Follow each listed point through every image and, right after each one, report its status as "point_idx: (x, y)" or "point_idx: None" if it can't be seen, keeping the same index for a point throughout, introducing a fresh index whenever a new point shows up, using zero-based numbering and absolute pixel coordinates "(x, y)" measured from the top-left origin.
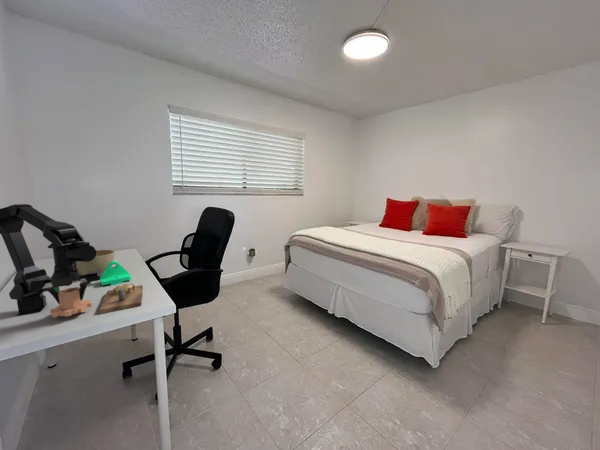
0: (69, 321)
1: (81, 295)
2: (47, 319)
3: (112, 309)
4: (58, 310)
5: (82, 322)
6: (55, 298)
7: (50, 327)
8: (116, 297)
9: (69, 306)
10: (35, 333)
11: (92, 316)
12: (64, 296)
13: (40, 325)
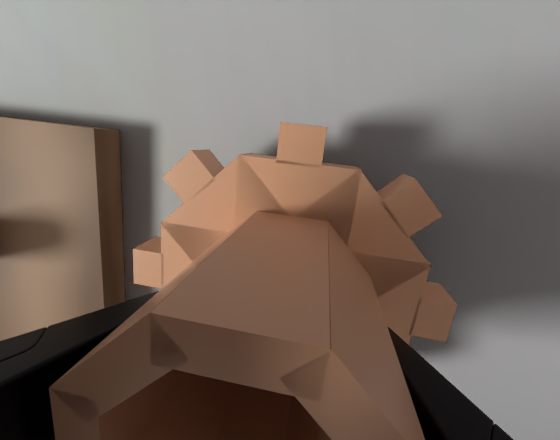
0: (302, 118)
1: (126, 308)
2: (448, 279)
3: (26, 119)
4: (384, 243)
5: (210, 20)
6: (449, 388)
7: (426, 77)
8: (31, 329)
9: (285, 223)
10: (533, 7)
11: (159, 111)
12: (311, 298)
13: (494, 182)
